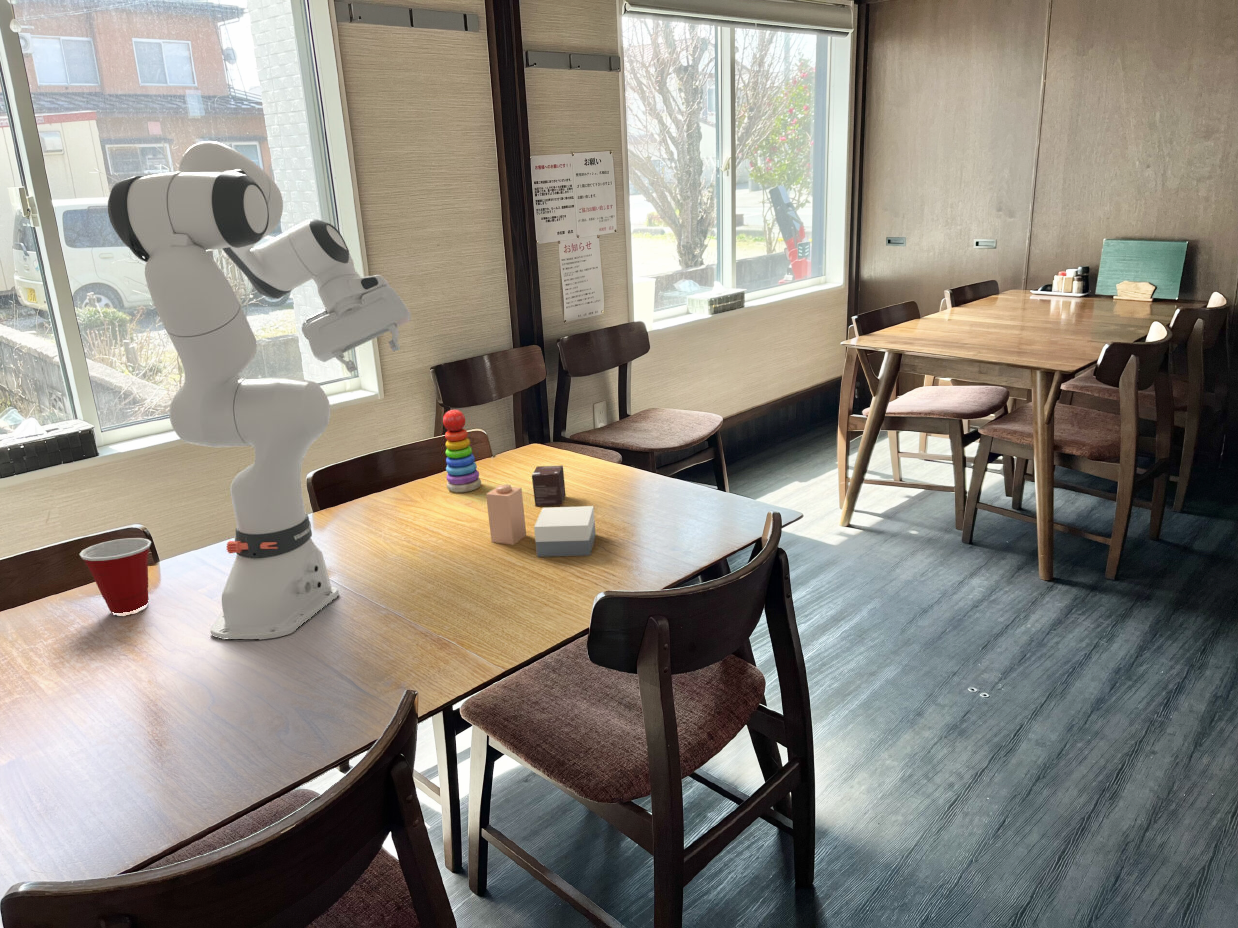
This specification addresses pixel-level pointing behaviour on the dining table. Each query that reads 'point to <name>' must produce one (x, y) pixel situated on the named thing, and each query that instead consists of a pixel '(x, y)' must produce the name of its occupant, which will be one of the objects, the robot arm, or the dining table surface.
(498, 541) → the tall brick
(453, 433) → the stacking toy
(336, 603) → the dining table surface
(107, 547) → the plastic cup
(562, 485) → the box
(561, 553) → the tower base
